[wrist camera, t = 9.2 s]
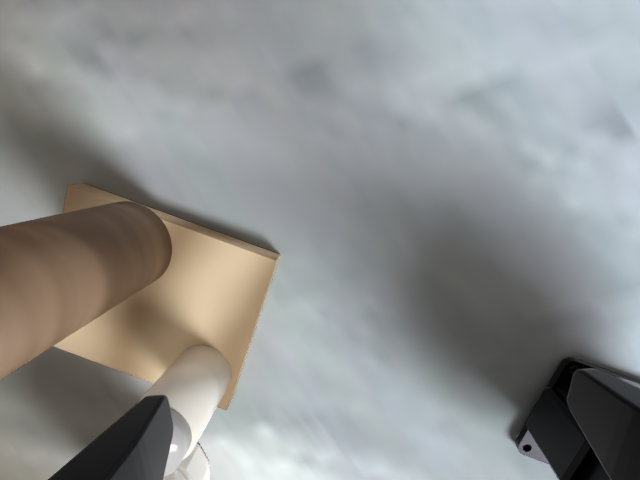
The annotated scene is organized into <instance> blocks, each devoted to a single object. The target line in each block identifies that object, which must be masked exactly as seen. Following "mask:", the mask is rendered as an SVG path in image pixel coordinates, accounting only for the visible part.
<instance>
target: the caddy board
mask: <svg viewBox="0 0 640 480" xmlns="http://www.w3.org/2000/svg"><path fill="white" fill-rule="evenodd" d="M120 201H129V202H133V201H131V200H128V199H125V198H122V197H120V196H117V195H114V194H111V193H109V192H106V191H103V190H100V189H98V188H95V187H92V186H89V185H87V184H84V183H81V184H73V185H68V186H67V192H66V197H65V203H64V209H63V213H68V212H72V211H77V210H82V209H86V208H91V207H96V206H100V205H105V204H110V203H115V202H120ZM134 203H136V202H134ZM138 204H139V203H138ZM141 205H142V204H141ZM143 206H144V205H143ZM145 207H147V206H145ZM147 208H149V209H150V210H152V211H153V212H154V213H155V214H156V215H157V216H158V217H159V218H160V219H161V220H162V221H163V223H164V224H165V226H166V228H167V230H168V232H169V235H170V238H171V242H172V257H171V261H170V264H169V266H168V268H167V270H166V271H165V273H164V274H163V275H162V276H161V277H160V278H159V279H157V280H156V281H154V282H152V283H151V284H149V285H148V286H146V287H145V288H143V289H142V290H140V291H138V292H137V293H135V294H134V295H132V296H131V297H129V298H127V299H126V300H124V301H123V302H121V303H120V304H118V305H116V306H115V307H113V308H112V309H110V310H109V311H107V312H106V313H104V314H102V315H101V316H99V317H98V318H96V319H95V320H93V321H91V322H90V323H88V324H87V325H85V326H84V327H82V328H81V329H79V330H77V331H76V332H74V333H73V334H71V335H70V336H68V337H66V338H65V339H63V340H62V341H60V342H59V343H57V344H55V345H54V347H57V348H59V349H62V350H65V351H67V352H70V353H73V354H75V355H78V356H81V357H84V358H86V359H89V360H92V361H94V362H97V363H100V364H102V365H105V366H108V367H111V368H113V369H116V370H119V371H121V372H124V373H127V374H129V375H132V376H135V377H137V378H140V379H143V380H146V381H148V382H151V383H155V382H156V381H157V380H158V379H159V378H160V376H161V375H162V374H163V373H164V372H165V371H166V370H167V368H168V367H169V366H170V365H171V364H172V363H173V362H174V361H175V359H176V358H177V357H178V356H179V355H180V354H181V353H182V352H183V351H184V350H185V349H187V348H189V347H191V346H195V345H205V346H209V347H212V348H214V349H216V350H218V351H219V352H220V353H222V354H223V355H224V356H225V358H226V359H227V360H228V362H229V364H230V367H231V371H232V377H231V382H230V384H229V386H228V388H227V390H226V391H225V393H224V395H223V397H222V399H221V400H220V402H219V404H218V406H217V407H218V408H221V409H224V410H227V408H228V406H229V404H230V402H231V400H232V398H233V396H234V393H235V390H236V387H237V384H238V381H239V378H240V375H241V372H242V369H243V366H244V363H245V360H246V357H247V354H248V351H249V348H250V345H251V342H252V339H253V335H254V332H255V329H256V326H257V323H258V320H259V317H260V314H261V311H262V308H263V305H264V302H265V299H266V296H267V293H268V290H269V287H270V284H271V281H272V278H273V275H274V272H275V269H276V266H277V263H278V260H279V257H280V255H279V254H277V253H274V252H271V251H268V250H266V249H263V248H260V247H257V246H255V245H252V244H249V243H246V242H244V241H241V240H238V239H235V238H233V237H230V236H227V235H224V234H222V233H219V232H216V231H213V230H211V229H208V228H205V227H202V226H200V225H197V224H194V223H191V222H189V221H186V220H183V219H180V218H178V217H175V216H172V215H169V214H167V213H164V212H161V211H158V210H155V209H153V208H150V207H147Z"/></svg>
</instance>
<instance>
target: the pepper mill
mask: <svg viewBox="0 0 640 480" xmlns="http://www.w3.org/2000/svg"><path fill="white" fill-rule="evenodd" d="M171 257H172V242H171V238H170V235H169V232H168V230H167V228H166V226H165V224H164V223H163V221H162V220H161V219H160V218H159V217H158V216H157V215H156V214H155V213H154V212H153V211H152V210H150V209H149V208H147V207H145V206H143V205H141V204H138V203H134V202H129V201H120V202H115V203H110V204H105V205H100V206H96V207H91V208H86V209H82V210H77V211H72V212H68V213H63V214H58V215H53V216H49V217H44V218H39V219H35V220H30V221H25V222H20V223H16V224H11V225H6V226H2V227H0V380H1V379H2V378H4V377H5V376H7V375H9V374H10V373H12V372H13V371H15V370H16V369H18V368H19V367H21V366H23V365H24V364H26V363H27V362H29V361H30V360H32V359H34V358H35V357H37V356H38V355H40V354H41V353H43V352H45V351H46V350H48V349H49V348H51V347H52V346H54V345H55V344H57V343H59V342H60V341H62V340H63V339H65V338H66V337H68V336H70V335H71V334H73V333H74V332H76V331H77V330H79V329H81V328H82V327H84V326H85V325H87V324H88V323H90V322H91V321H93V320H95V319H96V318H98V317H99V316H101V315H102V314H104V313H106V312H107V311H109V310H110V309H112V308H113V307H115V306H116V305H118V304H120V303H121V302H123V301H124V300H126V299H127V298H129V297H131V296H132V295H134V294H135V293H137V292H138V291H140V290H142V289H143V288H145V287H146V286H148V285H149V284H151V283H152V282H154V281H156V280H157V279H159V278H160V277H161V276H162V275H163V274H164V273H165V271H166V270H167V268H168V266H169V264H170V261H171Z"/></svg>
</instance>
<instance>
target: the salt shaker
mask: <svg viewBox="0 0 640 480" xmlns="http://www.w3.org/2000/svg"><path fill="white" fill-rule="evenodd" d="M231 377H232V371H231V367H230V364H229V362H228V360H227V359H226V358H225V356H224V355H223V354H222V353H220V352H219V351H218V350H216V349H214V348H212V347H209V346H205V345H195V346H191V347H189V348H187V349H185V350H184V351H183V352H182V353H181V354H180V355H179V356H178V357H177V358H176V359H175V361H174V362H173V363H172V364H171V365H170V366H169V367H168V368H167V370H166V371H165V372H164V373H163V374H162V375H161V376H160V378H159V379H158V380H157V381H156V382H155V383H154V384H153V385H152V387H151V388H150V389H149V390H148V391H147V392H146V393H145V395H144V396H143V397H142V398H141V399H140V400H139V401H141V400H142V399H143V398H144V397H146V396H150V395H165V396H167V398H168V401H169V405H170V411H171V416H172V421H173V437H172V442H171V446H170V451H169V455H168V460H167V464H166V469H165V473H164V477H165V476H168V475H170V474H171V473H173V472H174V471H175V470H176V469H177V468H178V466H179V465H180V463H181V461H182V460H183V459H185V458H186V457H188V456H189V455H190V453H191V452H192V451H193V449H194V447H195V445H196V444H197V442H198V440H199V438H200V436H201V435H202V433H203V431H204V429H205V427H206V426H207V424H208V422H209V420H210V418H211V417H212V415H213V413H214V411H215V409H216V408H217V406H218V404H219V402H220V400H221V399H222V397H223V395H224V393H225V391H226V390H227V388H228V386H229V384H230V382H231ZM139 401H138V402H139ZM138 402H137V403H138Z"/></svg>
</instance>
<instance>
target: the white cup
mask: <svg viewBox="0 0 640 480" xmlns="http://www.w3.org/2000/svg"><path fill="white" fill-rule="evenodd" d="M163 480H210V464H209V461H208V459H207V457H206V456H205V454H204V452H203V450H202V449H201V447H200V445H199V444H198V443H197V444H196V445H195V447H194V449H193V451H192V452H191V453H190V455H189V456H188V457H186V458H185V459H183V460H182V461H181V463H180V465H179V466H178V468H177V469H176V470H175V471H174V472H173V473H171V474H170V475H168V476H165V477H164V478H163Z"/></svg>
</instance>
